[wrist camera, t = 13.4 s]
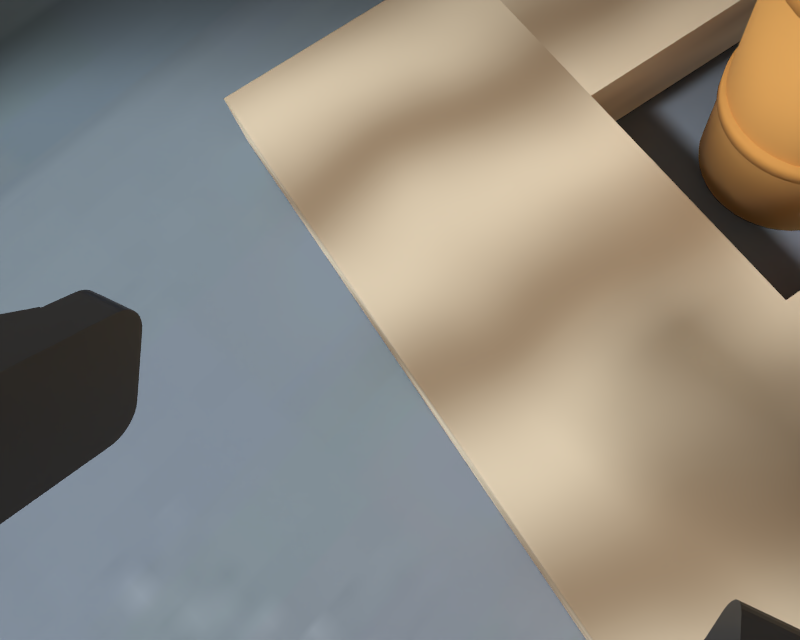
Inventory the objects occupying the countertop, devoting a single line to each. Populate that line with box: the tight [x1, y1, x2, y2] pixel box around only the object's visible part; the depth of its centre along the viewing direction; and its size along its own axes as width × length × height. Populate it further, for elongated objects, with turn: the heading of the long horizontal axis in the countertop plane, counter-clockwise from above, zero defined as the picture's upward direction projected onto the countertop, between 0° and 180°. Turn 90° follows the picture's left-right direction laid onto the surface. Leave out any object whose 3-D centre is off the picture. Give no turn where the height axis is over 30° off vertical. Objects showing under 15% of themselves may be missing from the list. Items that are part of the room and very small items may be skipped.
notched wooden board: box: [224, 0, 800, 640], centre depth 22 cm, size 22×18×3 cm
